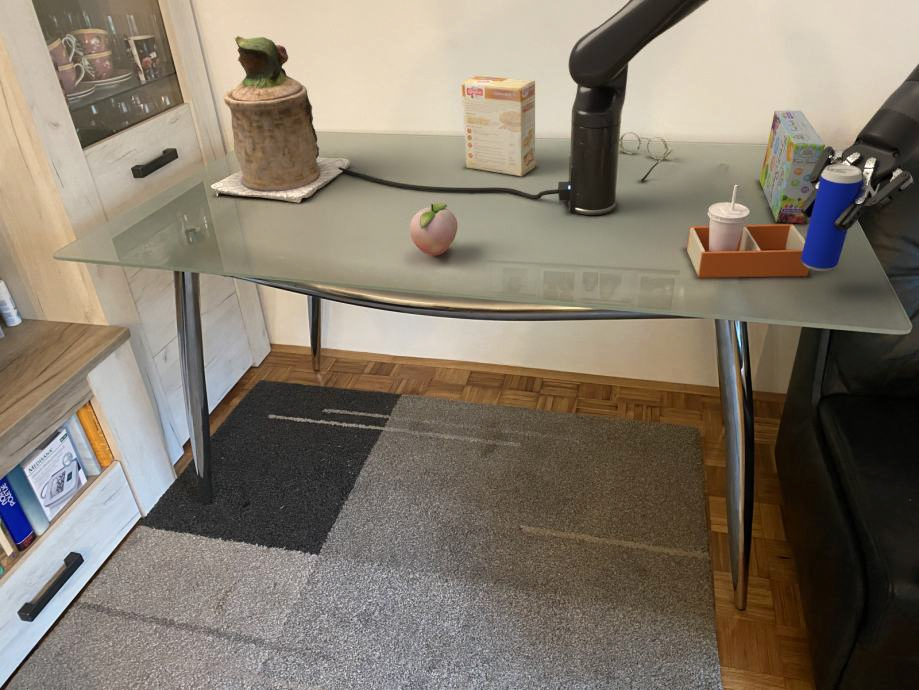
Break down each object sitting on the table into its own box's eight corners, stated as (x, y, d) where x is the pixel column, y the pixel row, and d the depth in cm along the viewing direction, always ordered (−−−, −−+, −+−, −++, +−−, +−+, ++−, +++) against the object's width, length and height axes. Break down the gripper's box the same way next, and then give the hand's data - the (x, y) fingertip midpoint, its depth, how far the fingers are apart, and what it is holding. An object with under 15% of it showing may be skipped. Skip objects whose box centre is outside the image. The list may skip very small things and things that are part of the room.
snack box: (807, 224, 127) (827, 144, 118) (774, 223, 128) (792, 143, 119) (786, 181, 144) (802, 108, 135) (757, 181, 145) (772, 108, 136)
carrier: (698, 277, 113) (702, 253, 111) (686, 249, 122) (689, 226, 119) (807, 276, 112) (813, 251, 109) (787, 247, 120) (792, 223, 117)
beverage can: (837, 259, 106) (863, 165, 98) (836, 274, 102) (864, 178, 94) (800, 254, 108) (823, 161, 99) (799, 269, 104) (822, 174, 96)
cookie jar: (304, 205, 149) (272, 47, 131) (209, 197, 156) (167, 47, 138) (353, 165, 168) (332, 23, 150) (267, 159, 175) (236, 23, 157)
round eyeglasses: (677, 162, 157) (679, 140, 154) (644, 183, 148) (646, 160, 145) (612, 149, 167) (613, 128, 164) (577, 168, 157) (578, 146, 155)
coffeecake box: (536, 167, 160) (536, 79, 149) (521, 177, 155) (520, 88, 144) (480, 158, 167) (477, 74, 156) (465, 168, 162) (460, 82, 151)
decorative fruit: (422, 242, 130) (417, 192, 125) (463, 245, 128) (460, 194, 123) (405, 265, 123) (399, 213, 117) (448, 269, 121) (444, 216, 115)
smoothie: (719, 275, 113) (734, 195, 105) (692, 260, 118) (703, 182, 110) (748, 265, 116) (764, 185, 108) (720, 250, 120) (733, 174, 113)
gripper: (850, 96, 100) (772, 192, 103) (945, 120, 89) (855, 226, 92) (865, 126, 105) (791, 217, 108) (958, 151, 94) (872, 252, 97)
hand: (821, 221), depth 100 cm, fingers closed on beverage can, 5 cm apart
